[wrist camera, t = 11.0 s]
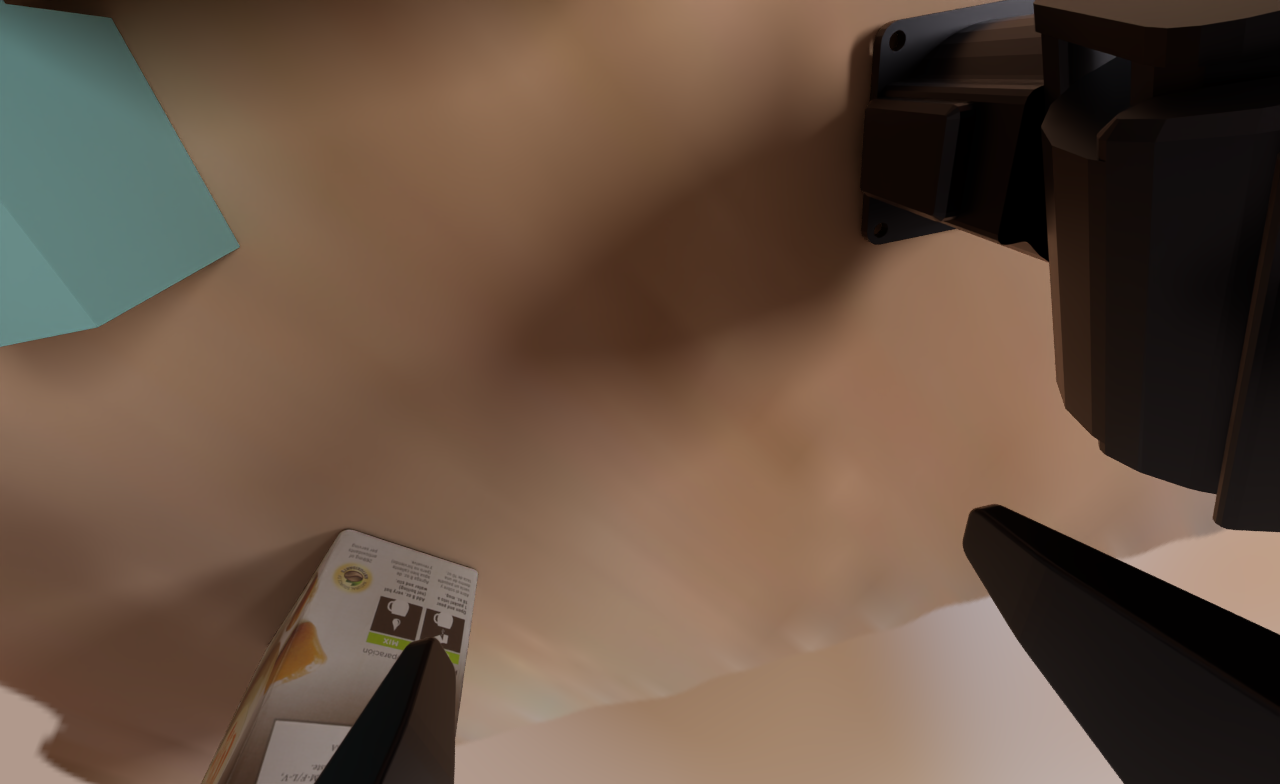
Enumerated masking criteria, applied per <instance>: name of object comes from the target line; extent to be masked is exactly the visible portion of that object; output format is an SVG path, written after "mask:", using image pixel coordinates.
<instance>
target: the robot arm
mask: <svg viewBox="0 0 1280 784" xmlns="http://www.w3.org/2000/svg"><path fill="white" fill-rule="evenodd" d="M894 32H895V33H896V34H897V35H898V42H897V46H896V47H895V48H894V49H893V50H891V48H890V46H889V41H890V37H891V36H892V34H893V33H894ZM860 189H861V191H863V192H864V197H863V212H862V226H861V232H862V236H863V238H864V239H865V240H867V241H869V242H871V243H873V244H884V243H889V242H894V241H899V240H904V239H909V238H913V237H918V236H923V235H928V234H933V233H938V232H942V231H947V230H952V229H959V230H962V231H965V232H967V233H970V234H973V235H976V236H978V237H981V238H984V239H986V240H989V241H992V242H994V243H997V244H1000V245H1003V246H1005V247H1008V248H1011V249H1013V250H1016V251H1019V252H1021V253H1024V254H1027V255H1030V256H1032V257H1035V258H1038V259H1040V260H1043V261H1046V262H1049V267H1050V283H1051V299H1052V316H1053V332H1054V348H1055V365H1056V381H1057V384H1058V387H1059V390H1060V393H1061V396H1062V399H1063V403H1064V406H1065V408H1066V409H1067V410H1068V411H1069V412H1070V413H1071V415H1072V416H1073V417H1074V418H1075V419H1076V420H1077V421H1078V422H1079V423H1080V424H1081V425H1082V426H1083V427H1084V428H1085V429H1086V430H1087V431H1088V432H1089V433H1090V434H1091V435H1092V436H1093V437H1095V438H1096V439H1098V444H1099V448H1100V450H1101V451H1102V452H1103V453H1104V454H1105V455H1107V456H1109V457H1111V458H1113V459H1115V460H1117V461H1119V462H1121V463H1123V464H1125V465H1126V466H1128V467H1130V468H1132V469H1134V470H1136V471H1138V472H1141V473H1143V474H1146V475H1149V476H1152V477H1155V478H1159V479H1162V480H1165V481H1168V482H1171V483H1174V484H1177V485H1180V486H1183V487H1186V488H1189V489H1193V490H1197V491H1201V492H1207V493H1212V494H1217V496H1216V502H1215V507H1214V513H1213V520H1214V522H1215V523H1216V524H1218V525H1219V526H1221V527H1223V528H1226V529H1232V530H1246V531H1247V530H1248V531H1267V532H1280V0H1004V1H998V2H993V3H987V4H982V5H977V6H971V7H966V8H960V9H955V10H949V11H944V12H939V13H933V14H928V15H922V16H917V17H912V18H906V19H901V20H895V21H891V22H888V23H886V24H885V25H884V26H882V27H881V28H880V29H879V31H878V33H877V35H876V37H875V41H874V48H873V63H872V78H871V93H870V103H869V104H868V106H867V107H866V109H865V119H864V135H863V151H862V167H861V182H860ZM880 223H881V224H882V227H881V230H880V231H879V232H878V233H877V234H875V235H874V230H875V227H876V226H877V225H878V224H880ZM963 549H964V552H965V554H966V556H967V558H968V560H969V562H970V563H971V565H972V566H973V568H974V570H975V571H976V573H977V575H978V576H979V578H980V580H981V581H982V583H983V585H984V586H985V588H986V590H987V591H988V593H989V594H990V596H991V598H992V599H993V601H994V603H995V604H996V606H997V608H998V609H999V611H1000V613H1001V614H1002V616H1003V618H1004V619H1005V621H1006V622H1007V624H1008V626H1009V627H1010V629H1011V630H1012V632H1013V633H1014V635H1015V637H1016V638H1017V640H1018V641H1019V643H1020V644H1021V645H1022V647H1023V648H1024V650H1025V651H1026V652H1027V654H1028V655H1029V657H1030V658H1031V659H1032V661H1033V662H1034V663H1035V665H1036V666H1037V667H1038V669H1039V670H1040V671H1041V673H1042V674H1043V675H1044V677H1045V678H1046V679H1047V681H1048V682H1049V683H1050V685H1051V686H1052V688H1053V689H1054V690H1055V691H1056V693H1057V694H1058V696H1059V697H1060V698H1061V700H1062V701H1063V702H1064V704H1065V705H1066V706H1067V708H1068V709H1069V710H1070V712H1071V713H1072V714H1073V716H1074V717H1075V718H1076V720H1077V721H1078V722H1079V724H1080V725H1081V726H1082V728H1083V729H1084V731H1085V732H1086V733H1087V735H1088V736H1089V737H1090V739H1091V740H1092V741H1093V743H1094V744H1095V745H1096V747H1097V748H1098V749H1099V751H1100V752H1101V753H1102V755H1103V756H1104V758H1105V759H1106V760H1107V762H1108V763H1109V764H1110V766H1111V767H1112V768H1113V769H1114V771H1115V772H1116V774H1117V775H1118V776H1119V778H1120V779H1121V780H1122V781H1123V783H1124V784H1280V635H1279V634H1277V633H1275V632H1273V631H1271V630H1269V629H1266V628H1264V627H1262V626H1260V625H1258V624H1256V623H1253V622H1251V621H1249V620H1247V619H1245V618H1243V617H1241V616H1238V615H1236V614H1234V613H1232V612H1230V611H1227V610H1225V609H1223V608H1221V607H1219V606H1217V605H1215V604H1213V603H1210V602H1208V601H1206V600H1204V599H1202V598H1200V597H1198V596H1195V595H1193V594H1191V593H1189V592H1187V591H1184V590H1182V589H1180V588H1178V587H1176V586H1174V585H1172V584H1170V583H1167V582H1165V581H1163V580H1161V579H1159V578H1157V577H1155V576H1152V575H1150V574H1148V573H1146V572H1144V571H1141V570H1139V569H1137V568H1135V567H1133V566H1131V565H1128V564H1127V563H1124V562H1122V561H1120V560H1118V559H1116V558H1114V557H1112V556H1109V555H1107V554H1105V553H1103V552H1101V551H1099V550H1096V549H1094V548H1092V547H1090V546H1088V545H1086V544H1084V543H1081V542H1079V541H1077V540H1075V539H1073V538H1071V537H1068V536H1066V535H1064V534H1062V533H1060V532H1058V531H1056V530H1053V529H1051V528H1049V527H1047V526H1045V525H1043V524H1041V523H1038V522H1036V521H1034V520H1032V519H1030V518H1028V517H1025V516H1023V515H1021V514H1019V513H1017V512H1015V511H1013V510H1010V509H1008V508H1006V507H1004V506H1001V505H998V504H991V505H987V506H982V507H978V508H975V509H973V510H972V511H971V512H970V514H969V517H968V521H967V525H966V529H965V533H964V537H963ZM455 713H456V673H455V668H454V665H453V663H452V661H451V660H450V658H449V656H448V655H447V653H446V651H445V650H444V648H443V646H442V645H441V643H440V641H439V640H438V639H437V638H435V637H429V638H425V639H420V640H416V641H413V642H411V643H409V644H408V645H407V646H406V647H405V648H404V650H403V651H402V653H401V654H400V656H399V657H398V659H397V660H396V662H395V663H394V665H393V666H392V668H391V669H390V671H389V672H388V674H387V675H386V677H385V678H384V680H383V681H382V683H381V684H380V685H379V687H378V688H377V690H376V691H375V693H374V694H373V696H372V697H371V699H370V700H369V702H368V703H367V705H366V706H365V708H364V709H363V711H362V712H361V714H360V715H359V717H358V718H357V720H356V721H355V723H354V724H353V726H352V727H351V729H350V730H349V732H348V733H347V735H346V736H345V738H344V739H343V741H342V742H341V744H340V745H339V747H338V748H337V750H336V751H335V753H334V754H333V756H332V757H331V759H330V760H329V762H328V763H327V765H326V766H325V768H324V769H323V771H322V772H321V774H320V775H319V777H318V778H317V780H316V781H315V782H314V784H454V769H455V768H454V767H455Z"/></svg>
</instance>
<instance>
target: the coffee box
mask: <svg viewBox="0 0 1280 784" xmlns="http://www.w3.org/2000/svg"><path fill="white" fill-rule="evenodd" d="M477 579H478V572H477V571H476V570H474V569H471V568H468V567H465V566H462V565H459V564H456V563H453V562H450V561H447V560H444V559H441V558H437V557H434V556H431V555H428V554H425V553H422V552H419V551H416V550H413V549H410V548H406V547H403V546H400V545H397V544H394V543H391V542H388V541H385V540H382V539H379V538H376V537H373V536H370V535H367V534H364V533H361V532H358V531H355V530H344V531H342V532H340V533H339V535H338V536H337V538H336V540H335V541H334V543H333V544H332V546H331V547H330V549H329V550H328V552H327V554H326V555H325V557H324V559H323V560H322V562H321V563H320V565H319V567H318V568H317V570H316V571H315V573H314V575H313V576H312V578H311V579H310V581H309V583H308V584H307V586H306V587H305V589H304V590H303V592H302V594H301V595H300V597H299V598H298V600H297V601H296V603H295V604H294V606H293V608H292V609H291V611H290V612H289V614H288V615H287V617H286V619H285V620H284V622H283V623H282V625H281V626H280V628H279V630H278V631H277V633H276V635H275V636H274V638H273V639H272V641H271V642H270V644H269V645H268V647H267V649H266V651H265V653H264V655H263V657H262V659H261V661H260V663H259V665H258V667H257V669H256V671H255V673H254V675H253V677H252V679H251V681H250V683H249V685H248V688H247V690H246V692H245V694H244V696H243V698H242V700H241V702H240V704H239V706H238V708H237V710H236V712H235V714H234V716H233V718H232V720H231V722H230V724H229V727H228V729H227V731H226V733H225V735H224V737H223V739H222V741H221V743H220V745H219V747H218V749H217V751H216V753H215V756H214V758H213V760H212V762H211V764H210V766H209V768H208V770H207V772H206V774H205V776H204V779H203V781H202V783H201V784H314V782H315V781H316V780H317V778H318V777H319V775H320V774H321V772H322V771H323V769H324V768H325V766H326V765H327V763H328V762H329V760H330V759H331V757H332V756H333V754H334V753H335V751H336V750H337V748H338V747H339V745H340V744H341V742H342V741H343V739H344V738H345V736H346V735H347V733H348V732H349V730H350V729H351V727H352V726H353V724H354V723H355V721H356V720H357V718H358V717H359V715H360V714H361V712H362V711H363V709H364V708H365V706H366V705H367V703H368V702H369V700H370V699H371V697H372V696H373V694H374V693H375V691H376V690H377V688H378V687H379V685H380V684H381V683H382V681H383V680H384V678H385V677H386V675H387V674H388V672H389V671H390V669H391V668H392V666H393V665H394V663H395V662H396V660H397V659H398V657H399V656H400V654H401V653H402V651H403V650H404V648H405V647H406V646H407V645H408V644H409V643H411V642H413V641H416V640H420V639H425V638H429V637H435V638H437V639H438V640H439V641H440V643H441V645H442V646H443V648H444V650H445V651H446V653H447V655H448V656H449V658H450V660H451V661H452V663H453V665H454V668H455V673H456V713H455V736H456V729H457V721H458V714H459V708H460V701H461V694H462V687H463V677H464V671H465V664H466V658H467V650H468V645H469V636H470V629H471V623H472V614H473V607H474V599H475V592H476V586H477Z"/></svg>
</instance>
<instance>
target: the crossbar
mask: <svg viewBox="0 0 1280 784" xmlns="http://www.w3.org/2000/svg"><path fill="white" fill-rule="evenodd" d="M239 247H240V246H239V244H238V242H237V240H236V238H235V237H234V235H233V233H232V231H231V230H230V228H229V226H228V224H227V223H226V221H225V219H224V217H223V215H222V214H221V212H220V210H219V208H218V207H217V205H216V203H215V201H214V199H213V198H212V196H211V194H210V192H209V191H208V189H207V187H206V185H205V183H204V182H203V180H202V178H201V176H200V175H199V173H198V171H197V169H196V167H195V166H194V164H193V162H192V160H191V159H190V157H189V155H188V153H187V152H186V150H185V148H184V146H183V144H182V143H181V141H180V139H179V137H178V136H177V134H176V132H175V130H174V128H173V127H172V125H171V123H170V121H169V120H168V118H167V116H166V114H165V112H164V111H163V109H162V107H161V105H160V104H159V102H158V100H157V98H156V96H155V95H154V93H153V91H152V89H151V88H150V86H149V84H148V82H147V81H146V79H145V77H144V75H143V73H142V72H141V70H140V68H139V66H138V65H137V63H136V61H135V59H134V57H133V56H132V54H131V52H130V50H129V49H128V47H127V45H126V43H125V41H124V40H123V38H122V36H121V34H120V33H119V31H118V29H117V27H116V25H115V24H114V22H113V20H112V18H108V17H100V16H93V15H85V14H78V13H70V12H63V11H55V10H48V9H40V8H33V7H25V6H18V5H10V4H5V2H4V1H3V0H0V347H2V346H7V345H12V344H17V343H22V342H27V341H32V340H37V339H42V338H47V337H52V336H57V335H62V334H67V333H72V332H77V331H82V330H87V329H92V328H97V327H99V326H101V325H103V324H105V323H106V322H108V321H110V320H112V319H113V318H115V317H117V316H119V315H121V314H122V313H124V312H126V311H128V310H129V309H131V308H133V307H135V306H136V305H138V304H140V303H142V302H144V301H145V300H147V299H149V298H151V297H152V296H154V295H156V294H158V293H159V292H161V291H163V290H165V289H166V288H168V287H170V286H172V285H174V284H175V283H177V282H179V281H181V280H182V279H184V278H186V277H188V276H189V275H191V274H193V273H195V272H197V271H198V270H200V269H202V268H204V267H205V266H207V265H209V264H211V263H212V262H214V261H216V260H218V259H220V258H221V257H223V256H225V255H227V254H228V253H230V252H232V251H234V250H235V249H237V248H239Z"/></svg>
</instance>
